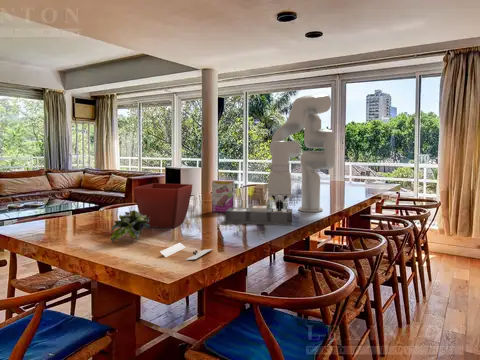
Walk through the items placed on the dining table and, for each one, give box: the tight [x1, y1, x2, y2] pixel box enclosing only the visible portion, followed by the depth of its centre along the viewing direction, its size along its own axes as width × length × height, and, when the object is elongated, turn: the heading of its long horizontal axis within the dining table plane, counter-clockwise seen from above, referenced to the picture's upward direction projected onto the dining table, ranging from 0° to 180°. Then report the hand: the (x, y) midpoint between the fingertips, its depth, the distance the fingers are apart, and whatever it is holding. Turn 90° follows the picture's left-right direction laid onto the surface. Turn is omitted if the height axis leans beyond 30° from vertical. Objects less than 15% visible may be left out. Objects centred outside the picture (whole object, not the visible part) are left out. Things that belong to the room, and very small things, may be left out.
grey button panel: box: [224, 207, 293, 226], centre depth 163 cm, size 14×29×5 cm, turn 81°
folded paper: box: [159, 242, 213, 261], centre depth 111 cm, size 12×12×2 cm
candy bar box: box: [211, 179, 235, 213], centre depth 187 cm, size 11×5×16 cm, turn 84°
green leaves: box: [109, 209, 151, 244], centre depth 127 cm, size 13×12×14 cm
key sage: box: [272, 208, 287, 212], centre depth 161 cm, size 6×6×3 cm
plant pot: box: [133, 182, 193, 229], centre depth 153 cm, size 19×19×17 cm
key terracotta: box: [251, 205, 268, 212], centre depth 163 cm, size 6×6×3 cm
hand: (279, 210), depth 161 cm, fingers closed
